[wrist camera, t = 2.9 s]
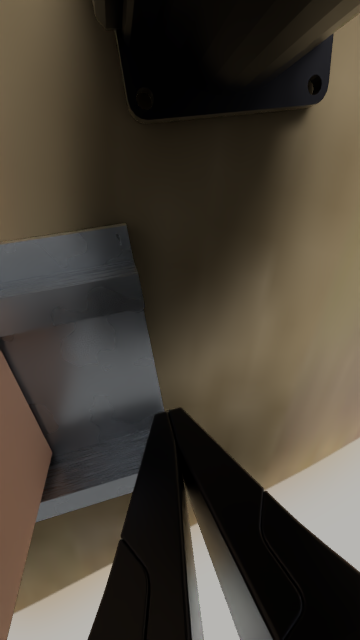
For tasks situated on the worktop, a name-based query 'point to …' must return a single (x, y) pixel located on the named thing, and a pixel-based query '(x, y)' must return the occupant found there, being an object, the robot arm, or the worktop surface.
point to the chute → (80, 359)
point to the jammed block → (17, 487)
